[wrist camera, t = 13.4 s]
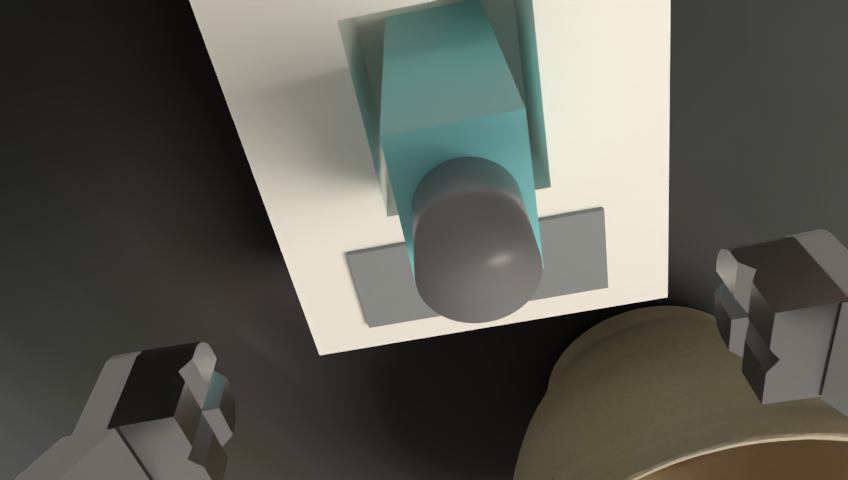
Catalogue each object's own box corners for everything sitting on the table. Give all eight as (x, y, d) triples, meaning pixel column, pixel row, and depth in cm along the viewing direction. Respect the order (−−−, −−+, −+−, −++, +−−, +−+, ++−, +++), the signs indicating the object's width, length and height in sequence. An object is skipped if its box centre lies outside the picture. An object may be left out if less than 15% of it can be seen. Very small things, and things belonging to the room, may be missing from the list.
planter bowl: (807, 451, 37) (943, 667, 28) (511, 506, 38) (548, 727, 29) (828, 199, 28) (1036, 393, 19) (446, 285, 30) (468, 500, 21)
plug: (385, 17, 21) (375, 196, 12) (479, -2, 21) (548, 165, 12) (410, 132, 24) (420, 363, 14) (496, 116, 23) (566, 339, 14)
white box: (193, -181, 20) (122, -173, 15) (600, -274, 19) (676, -301, 14) (333, 257, 29) (319, 359, 24) (618, 207, 28) (669, 301, 23)
